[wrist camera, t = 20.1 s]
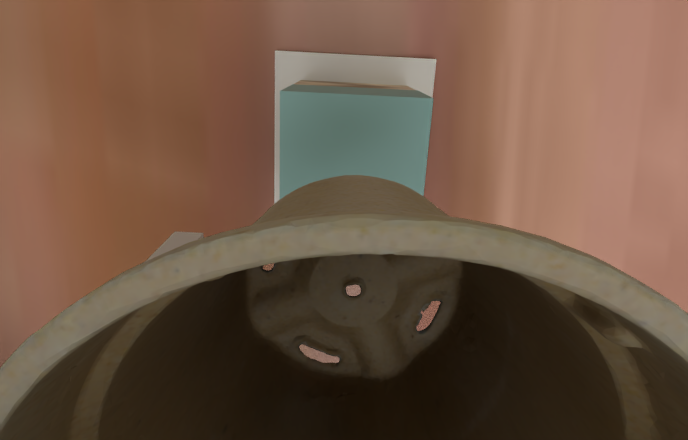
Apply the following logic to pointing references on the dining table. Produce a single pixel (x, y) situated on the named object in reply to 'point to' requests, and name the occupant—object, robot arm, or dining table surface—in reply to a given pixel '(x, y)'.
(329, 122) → the teal block
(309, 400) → the flower pot
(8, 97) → the dining table surface
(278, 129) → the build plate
